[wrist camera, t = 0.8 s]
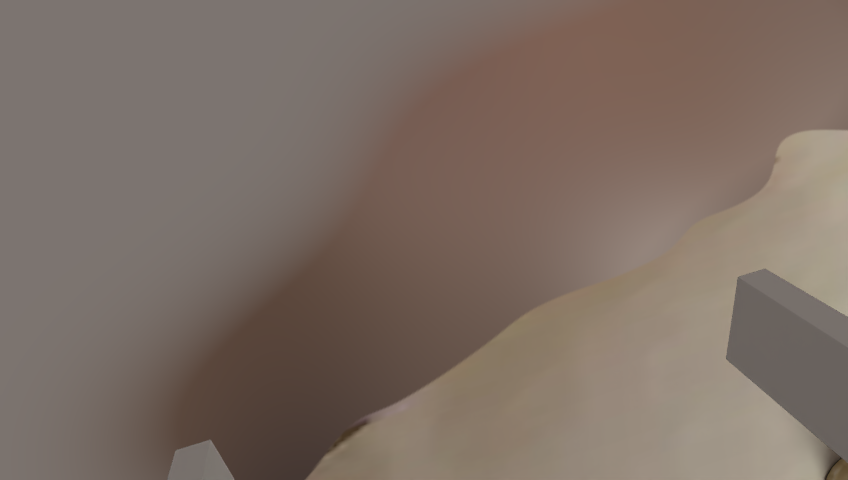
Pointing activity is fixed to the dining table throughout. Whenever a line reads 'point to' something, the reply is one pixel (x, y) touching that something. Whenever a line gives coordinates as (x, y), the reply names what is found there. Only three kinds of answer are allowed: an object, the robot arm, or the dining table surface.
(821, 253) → the dining table surface
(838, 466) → the hand bell
